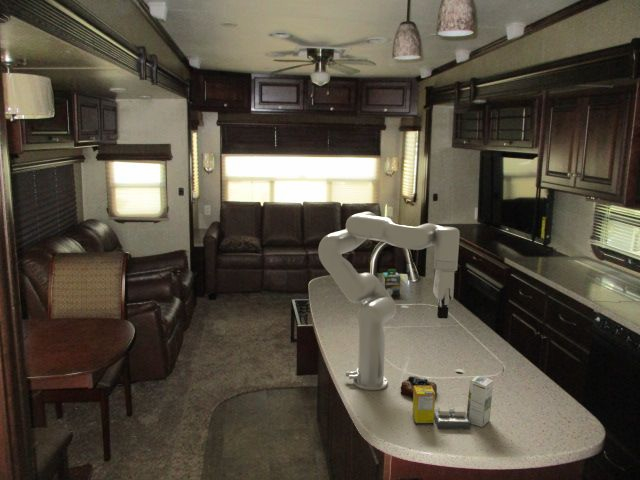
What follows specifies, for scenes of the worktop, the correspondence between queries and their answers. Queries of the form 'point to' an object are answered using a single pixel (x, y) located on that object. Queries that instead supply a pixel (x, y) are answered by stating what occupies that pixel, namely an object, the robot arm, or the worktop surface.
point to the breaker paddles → (445, 411)
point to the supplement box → (423, 405)
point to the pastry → (412, 381)
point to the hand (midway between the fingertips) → (442, 317)
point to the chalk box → (391, 282)
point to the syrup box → (479, 400)
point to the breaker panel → (451, 421)
